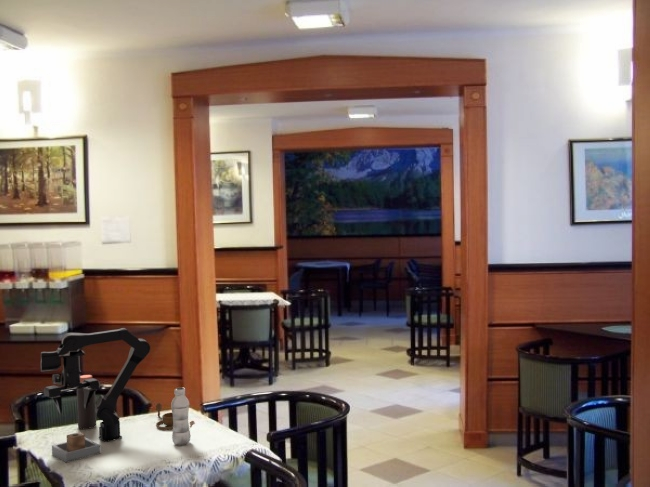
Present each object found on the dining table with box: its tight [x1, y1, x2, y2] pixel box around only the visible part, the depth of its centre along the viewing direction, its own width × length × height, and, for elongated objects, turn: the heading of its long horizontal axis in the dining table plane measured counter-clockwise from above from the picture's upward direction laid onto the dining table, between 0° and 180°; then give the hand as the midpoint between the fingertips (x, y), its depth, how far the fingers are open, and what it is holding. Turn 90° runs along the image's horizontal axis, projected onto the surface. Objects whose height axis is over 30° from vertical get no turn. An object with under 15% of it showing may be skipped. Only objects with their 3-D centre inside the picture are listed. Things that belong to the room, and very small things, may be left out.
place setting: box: [155, 402, 195, 431], centre depth 272 cm, size 18×20×6 cm
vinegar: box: [76, 374, 97, 430], centre depth 269 cm, size 7×7×20 cm
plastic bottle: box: [170, 387, 192, 446], centre depth 246 cm, size 6×7×20 cm
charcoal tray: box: [51, 436, 101, 464], centre depth 238 cm, size 12×12×3 cm
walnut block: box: [66, 431, 86, 452], centre depth 238 cm, size 4×4×6 cm
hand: (73, 411), depth 249 cm, fingers open, 9 cm apart
